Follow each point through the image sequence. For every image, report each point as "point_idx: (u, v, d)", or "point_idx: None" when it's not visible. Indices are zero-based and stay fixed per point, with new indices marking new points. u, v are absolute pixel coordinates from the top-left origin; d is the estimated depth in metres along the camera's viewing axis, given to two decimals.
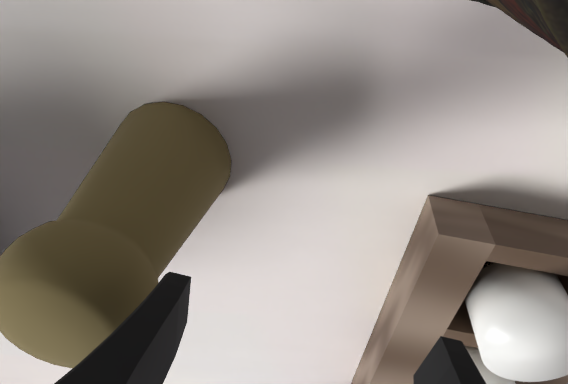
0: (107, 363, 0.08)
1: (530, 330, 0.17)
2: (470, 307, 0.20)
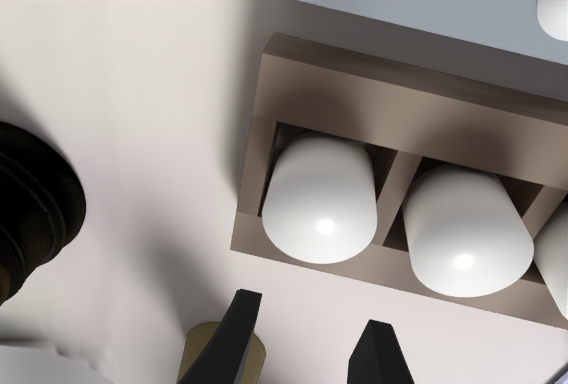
0: None
1: (281, 230, 0.16)
2: None
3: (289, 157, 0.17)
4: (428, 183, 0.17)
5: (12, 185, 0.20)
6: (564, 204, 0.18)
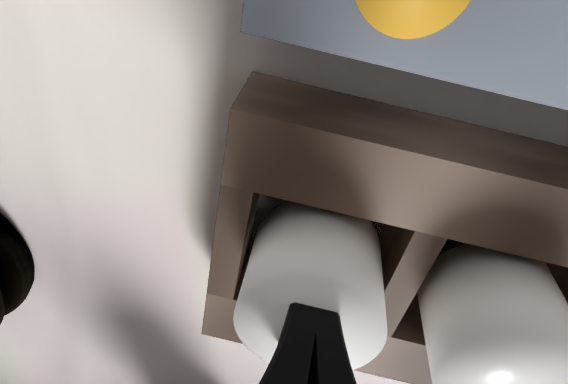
0: None
1: (259, 336, 0.12)
2: None
3: (270, 238, 0.13)
4: (453, 269, 0.13)
5: None
6: None
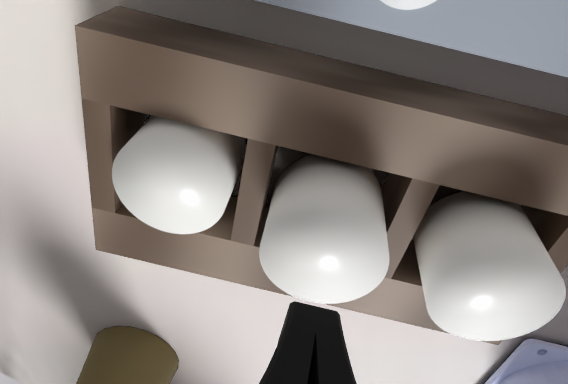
0: None
1: (135, 198, 0.16)
2: None
3: (145, 123, 0.16)
4: (288, 176, 0.15)
5: None
6: (444, 200, 0.16)
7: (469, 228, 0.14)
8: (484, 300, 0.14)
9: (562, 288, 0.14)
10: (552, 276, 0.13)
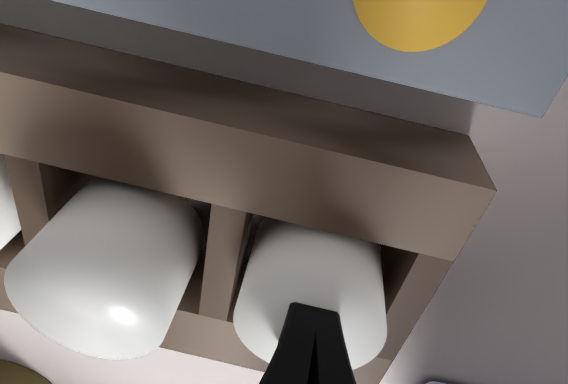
0: None
1: None
2: None
3: None
4: (69, 200, 0.12)
5: None
6: None
7: (281, 243, 0.12)
8: None
9: (379, 316, 0.11)
10: (363, 302, 0.11)
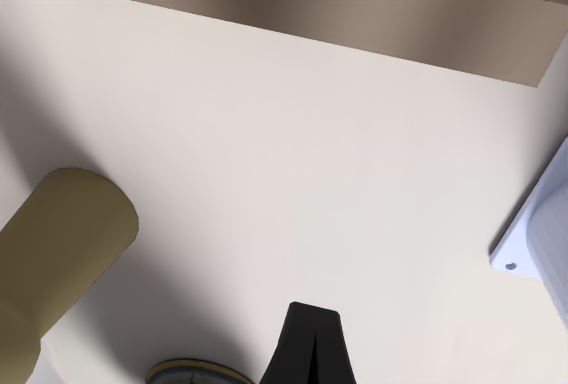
0: None
1: None
2: None
3: None
4: None
5: None
6: None
7: None
8: None
9: None
10: None
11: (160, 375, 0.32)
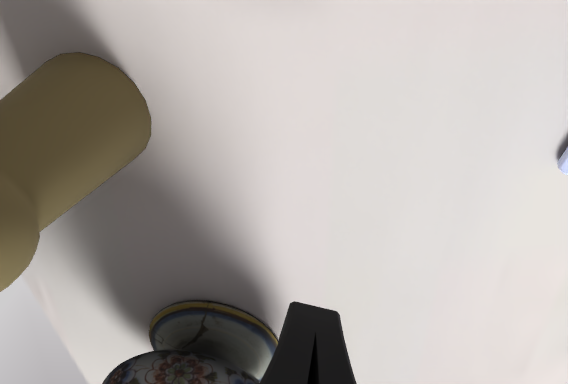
0: None
1: None
2: None
3: None
4: None
5: None
6: None
7: None
8: None
9: None
10: None
11: (167, 319, 0.29)
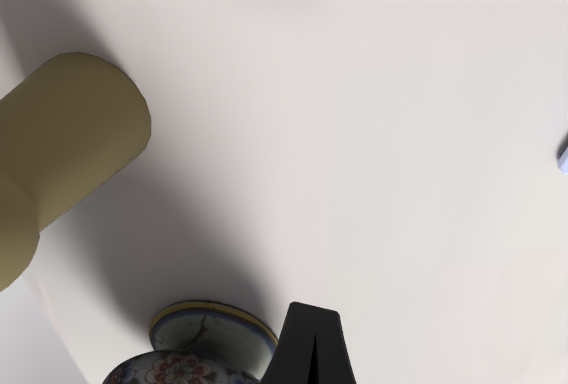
0: None
1: None
2: None
3: None
4: None
5: None
6: None
7: None
8: None
9: None
10: None
11: (167, 319, 0.29)
